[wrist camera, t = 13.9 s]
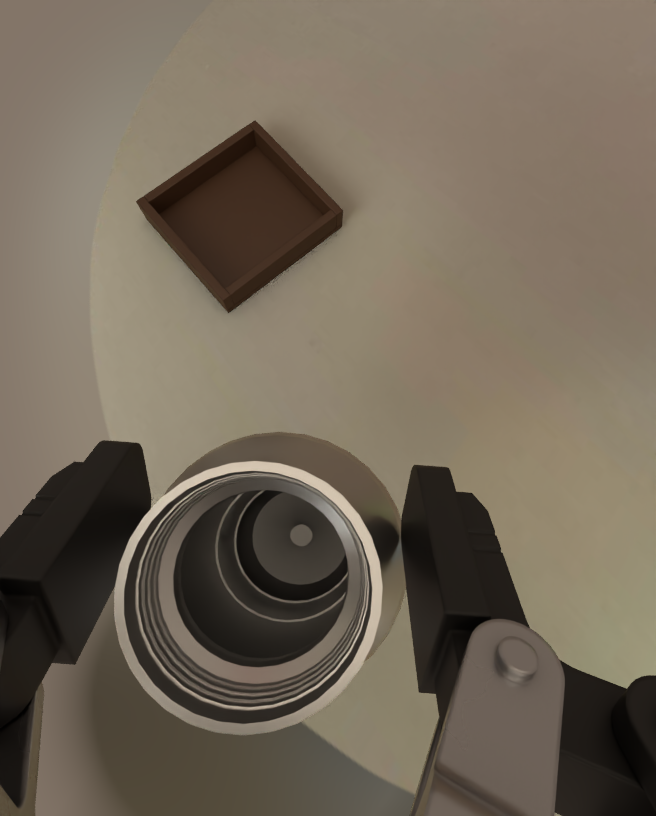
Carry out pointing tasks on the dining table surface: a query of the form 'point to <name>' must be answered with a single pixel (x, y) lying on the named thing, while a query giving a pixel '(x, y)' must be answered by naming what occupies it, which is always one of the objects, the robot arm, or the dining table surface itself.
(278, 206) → the tray
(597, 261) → the dining table surface
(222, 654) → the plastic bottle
